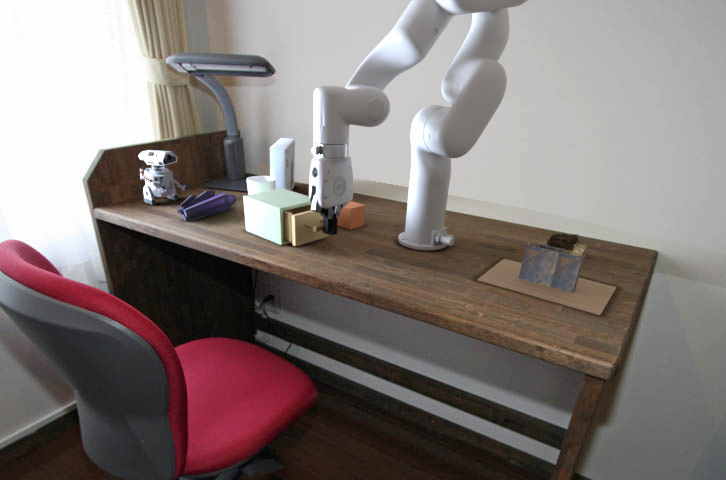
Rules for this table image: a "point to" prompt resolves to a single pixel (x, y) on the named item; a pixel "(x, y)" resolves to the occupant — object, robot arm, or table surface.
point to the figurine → (159, 175)
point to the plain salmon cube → (351, 216)
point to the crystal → (205, 204)
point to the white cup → (260, 184)
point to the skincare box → (283, 163)
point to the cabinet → (271, 212)
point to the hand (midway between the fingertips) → (329, 233)
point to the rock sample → (564, 241)
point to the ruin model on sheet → (552, 278)
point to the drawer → (302, 225)
